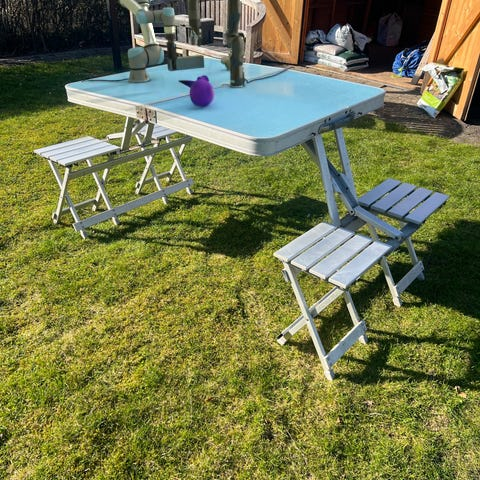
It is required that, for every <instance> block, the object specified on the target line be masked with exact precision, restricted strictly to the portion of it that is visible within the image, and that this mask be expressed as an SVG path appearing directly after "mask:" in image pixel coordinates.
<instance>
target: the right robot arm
mask: <svg viewBox="0 0 480 480" xmlns="http://www.w3.org/2000/svg"><path fill="white" fill-rule="evenodd" d="M200 8H201V7H200V0H187V10H188V12H187V15H188V16H187V17H188V38H189V39H190V43H191V45H190V46H195V45H196V46H197V47H199V48H200V47H202V40H203V29H202V28H200V27H201V26H202V21H201V10H200ZM242 15H243V2H242V0H227V25H228V26H227V39H226V40H227V41H226V43H227V47H228V48H229V49H231V50H232V55H231V56H230V70H229V82H230V83H229V86H230V88H243V87H245V86H246V85H245V83H246V84H249V83H252V82H255V81H260V80H264V79H269V78H272V77H275V76H277V75H280V74H282V73H284V72H285V71H287V70H290V69H294V70H296V68H295V66H290V67H287V68H285V69H283V70H281V71H279V72H277V73H275V74H272V75H268V76H265V77H259V78H253V79H251V80H249V81H248V79H246V77H245V71H244V61H243V57H244V56H245V40H244V37H243V36H241V35H239V24H240V21H241V18H242ZM195 38H196V39H195ZM244 58H245V57H244Z"/></svg>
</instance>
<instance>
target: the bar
mask: <svg viewBox="0 0 480 480" xmlns="http://www.w3.org/2000/svg"><path fill="white" fill-rule="evenodd" d="M171 59H172V58H168V57H166V64H167V65H166V66H167V71H169V72H176V71H186V70H194V69H195V70H196V69H203V68H205V56H204V55H202V54H195V55H186V56H185V55H184V56H183V55H182V56H177V59H176V67H177V70H173V67H172V60H171Z"/></svg>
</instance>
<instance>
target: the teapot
mask: <svg viewBox="0 0 480 480" xmlns="http://www.w3.org/2000/svg"><path fill="white" fill-rule="evenodd" d="M227 55H228V56H223V57H221V59H220V63H221V64H222V65H224V67H225V68H226V70H229V71H230V56H231V55H232V49H231V50H229V53H228V54H227ZM244 60H245V57H243V62H244Z"/></svg>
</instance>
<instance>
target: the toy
mask: <svg viewBox="0 0 480 480" xmlns="http://www.w3.org/2000/svg"><path fill="white" fill-rule="evenodd" d="M209 81H210V80H209V77H208V76H207V75H206V74H204V75H200V76H198V77H196V80H190V79H189V80H187V79H186V80H185V79H179V80H178V83H179V84H182V85H184V86H185V87H188V88H190V89H189V99H190V101H191V103H192V104H193V105H194V106H196V107H199V108H206V107H209V105H211V104H212V102H213V101H214V99H215V97H216V96H215V95H216V94H215V88H214V85H213V84H212V83H211V82H209Z"/></svg>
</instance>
